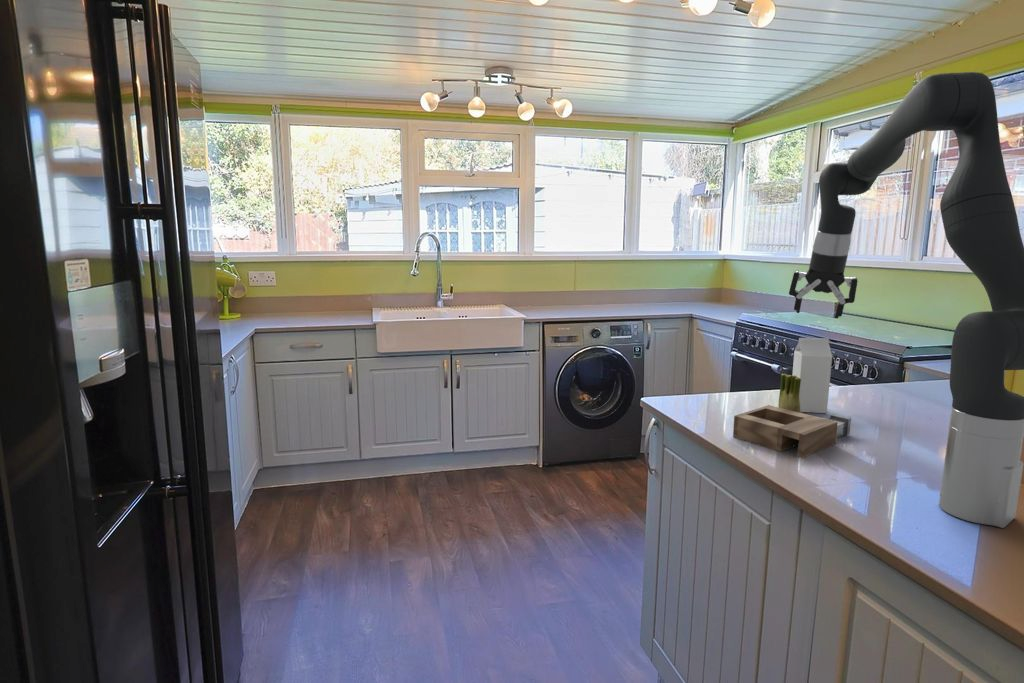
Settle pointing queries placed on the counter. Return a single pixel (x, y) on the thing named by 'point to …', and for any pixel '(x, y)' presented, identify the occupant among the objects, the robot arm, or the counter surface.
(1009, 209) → the robot arm
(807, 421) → the dock
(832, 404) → the counter surface
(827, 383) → the milk carton
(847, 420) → the lock pin
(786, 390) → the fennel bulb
